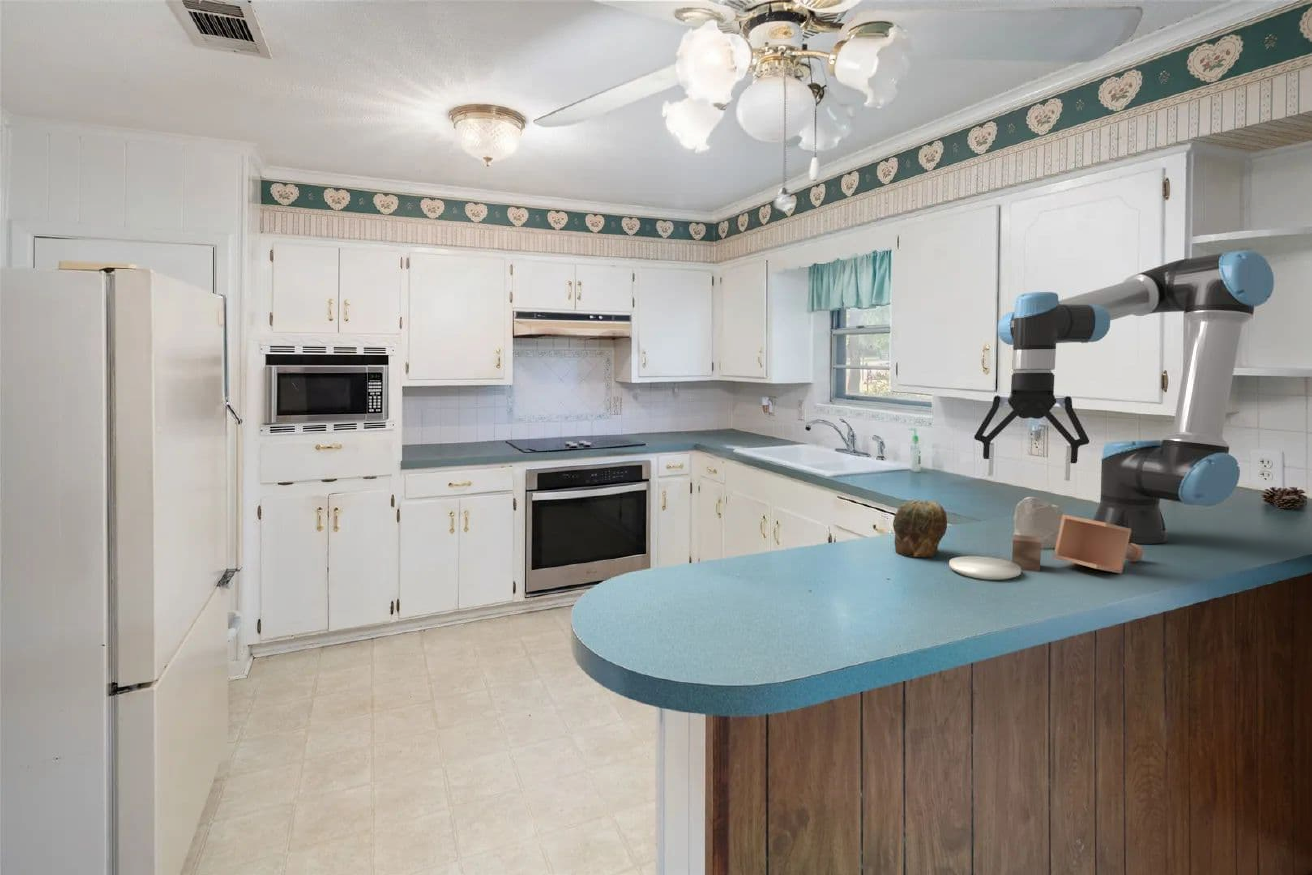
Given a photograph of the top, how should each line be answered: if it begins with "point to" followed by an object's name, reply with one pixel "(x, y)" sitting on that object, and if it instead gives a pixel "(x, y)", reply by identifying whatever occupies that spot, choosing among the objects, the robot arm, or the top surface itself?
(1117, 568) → the cover
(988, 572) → the dish
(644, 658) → the top surface
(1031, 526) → the stone
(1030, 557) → the block
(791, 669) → the top surface
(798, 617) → the top surface
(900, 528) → the brown rounded lump
